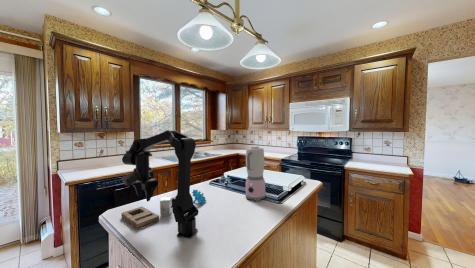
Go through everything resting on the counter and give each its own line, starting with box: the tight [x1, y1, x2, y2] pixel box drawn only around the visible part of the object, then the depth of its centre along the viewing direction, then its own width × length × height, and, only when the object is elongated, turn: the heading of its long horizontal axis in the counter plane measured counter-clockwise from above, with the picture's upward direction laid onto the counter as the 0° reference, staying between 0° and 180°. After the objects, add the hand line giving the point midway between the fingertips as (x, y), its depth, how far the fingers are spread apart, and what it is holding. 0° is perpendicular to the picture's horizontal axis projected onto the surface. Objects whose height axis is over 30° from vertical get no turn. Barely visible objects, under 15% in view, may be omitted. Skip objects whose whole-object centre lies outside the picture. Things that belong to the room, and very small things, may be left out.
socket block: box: [121, 206, 160, 230], centre depth 93 cm, size 18×10×2 cm, turn 50°
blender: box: [245, 145, 266, 202], centre depth 117 cm, size 16×12×32 cm
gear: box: [191, 189, 207, 205], centre depth 113 cm, size 11×6×10 cm
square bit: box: [159, 196, 173, 217], centre depth 98 cm, size 4×4×8 cm
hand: (143, 198), depth 90 cm, fingers open, 9 cm apart
